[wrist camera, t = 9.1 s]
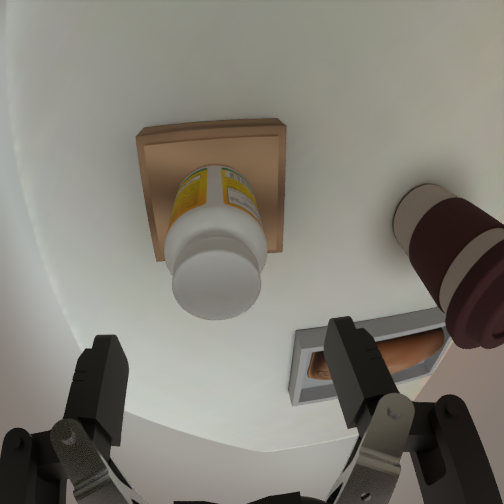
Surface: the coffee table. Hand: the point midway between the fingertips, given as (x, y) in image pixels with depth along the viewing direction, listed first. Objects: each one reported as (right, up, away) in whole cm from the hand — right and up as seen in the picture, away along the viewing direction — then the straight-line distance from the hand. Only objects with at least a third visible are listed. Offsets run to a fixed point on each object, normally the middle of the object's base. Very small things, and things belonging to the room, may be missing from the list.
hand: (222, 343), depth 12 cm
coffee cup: (+18, +7, +18) cm, 26 cm away
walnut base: (-2, +9, +14) cm, 16 cm away
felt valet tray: (+17, -10, +28) cm, 35 cm away
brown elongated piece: (+17, -9, +28) cm, 34 cm away
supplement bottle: (-2, +7, +11) cm, 13 cm away
